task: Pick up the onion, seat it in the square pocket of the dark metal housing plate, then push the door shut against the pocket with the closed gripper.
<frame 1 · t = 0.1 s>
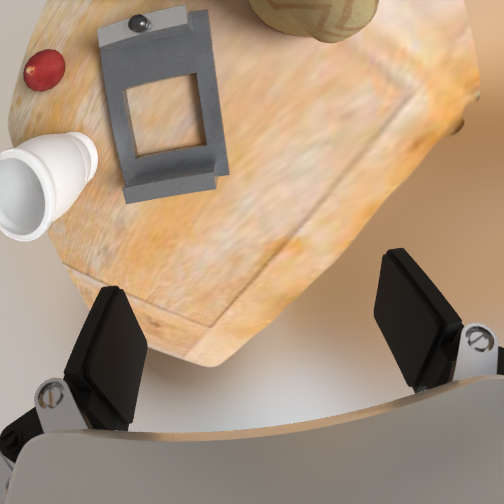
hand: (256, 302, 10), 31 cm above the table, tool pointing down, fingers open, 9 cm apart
housing: (166, 115, 34), on the table
onion: (58, 70, 29), on the table
jar: (74, 158, 36), on the table
door: (144, 27, 25), point 5 cm above the table, slide at -5.5 cm, touching housing
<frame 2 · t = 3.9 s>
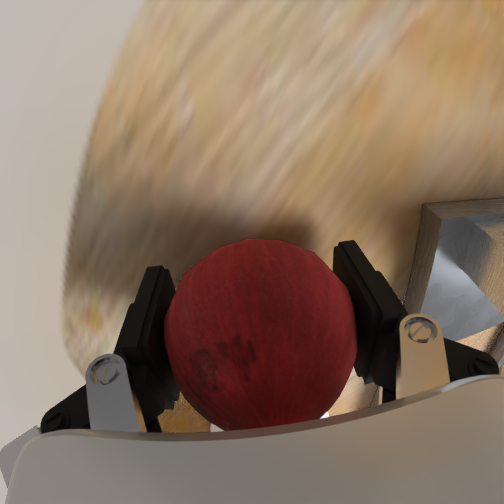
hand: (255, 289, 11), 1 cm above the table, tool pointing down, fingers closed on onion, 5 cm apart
housing: (456, 358, 18), on the table
onion: (252, 265, 12), on the table, touching gripper
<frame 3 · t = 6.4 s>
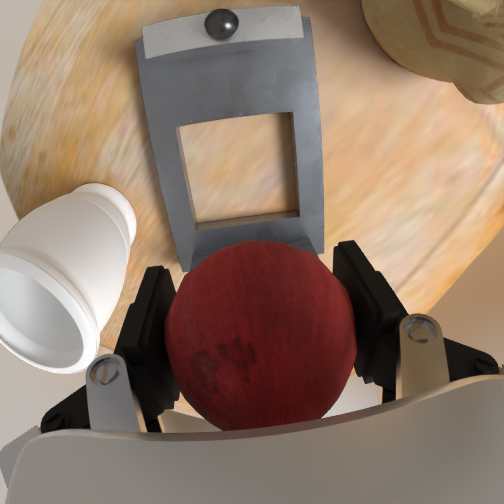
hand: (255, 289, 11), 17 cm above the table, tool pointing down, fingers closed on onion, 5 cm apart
housing: (240, 168, 26), on the table
ceramic vessel: (414, 15, 19), on the table
onion: (252, 266, 12), point 16 cm above the table, touching gripper
jar: (99, 220, 28), on the table
door: (222, 32, 16), point 5 cm above the table, slide at -5.5 cm, touching housing
when the fingers open (3 cm above the table, at t = 9.0 s): onion drops 2 cm, resting in housing.
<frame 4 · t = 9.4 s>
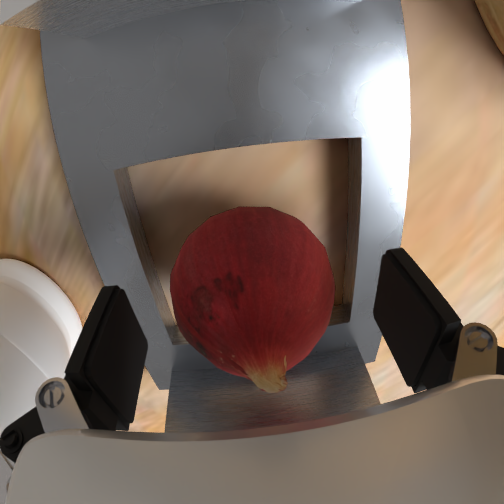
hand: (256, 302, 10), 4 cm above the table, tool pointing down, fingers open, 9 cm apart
housing: (249, 242, 14), on the table
onion: (247, 237, 14), resting in housing
jar: (31, 307, 16), on the table
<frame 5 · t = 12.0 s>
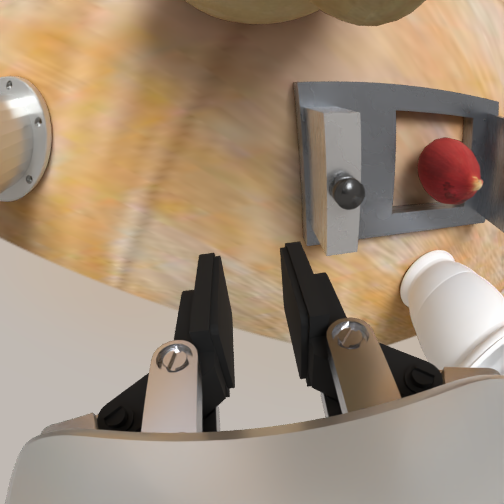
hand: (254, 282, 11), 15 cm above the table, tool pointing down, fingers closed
housing: (427, 158, 24), on the table
onion: (425, 158, 25), resting in housing
jar: (426, 277, 32), on the table
door: (335, 179, 20), point 5 cm above the table, slide at -5.5 cm, touching housing
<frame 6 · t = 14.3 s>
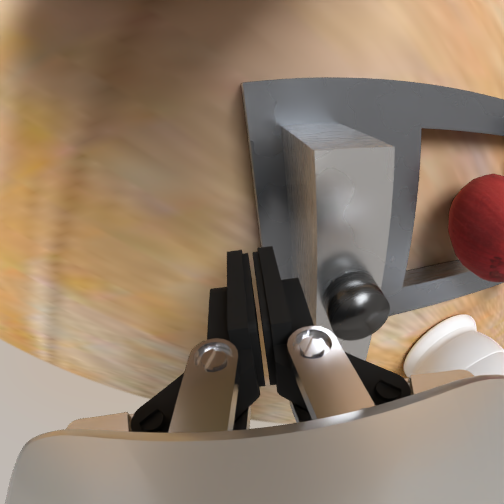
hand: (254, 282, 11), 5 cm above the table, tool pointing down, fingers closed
housing: (459, 200, 16), on the table
onion: (456, 199, 16), resting in housing
jar: (438, 344, 23), on the table
door: (334, 265, 12), point 5 cm above the table, slide at -4.5 cm, touching gripper, housing
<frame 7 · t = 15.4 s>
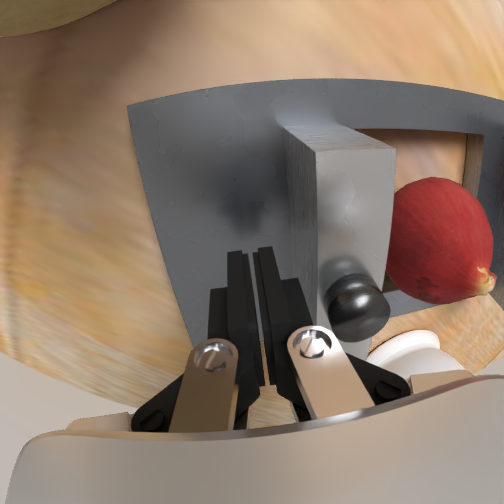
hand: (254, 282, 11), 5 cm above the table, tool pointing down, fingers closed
housing: (401, 207, 16), on the table
onion: (397, 206, 16), resting in housing
jar: (396, 359, 23), on the table
door: (334, 266, 12), point 5 cm above the table, slide at 0.4 cm, touching gripper, housing
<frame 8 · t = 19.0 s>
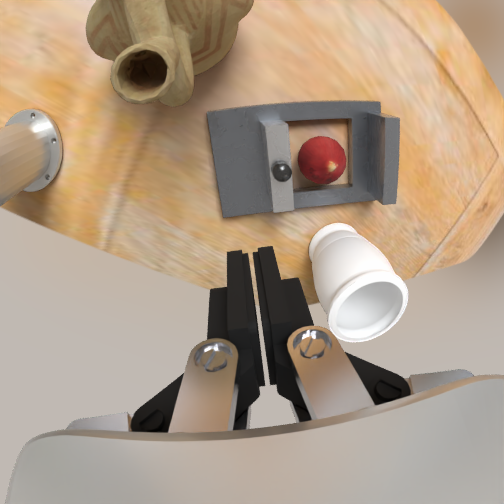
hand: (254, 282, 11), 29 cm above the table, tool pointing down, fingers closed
housing: (315, 153, 38), on the table
ceramic vessel: (180, 30, 28), on the table
onion: (313, 153, 38), resting in housing
jar: (334, 246, 46), on the table
door: (278, 165, 34), point 5 cm above the table, slide at 0.3 cm, touching housing
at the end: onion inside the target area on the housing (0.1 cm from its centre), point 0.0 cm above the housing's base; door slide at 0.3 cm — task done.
